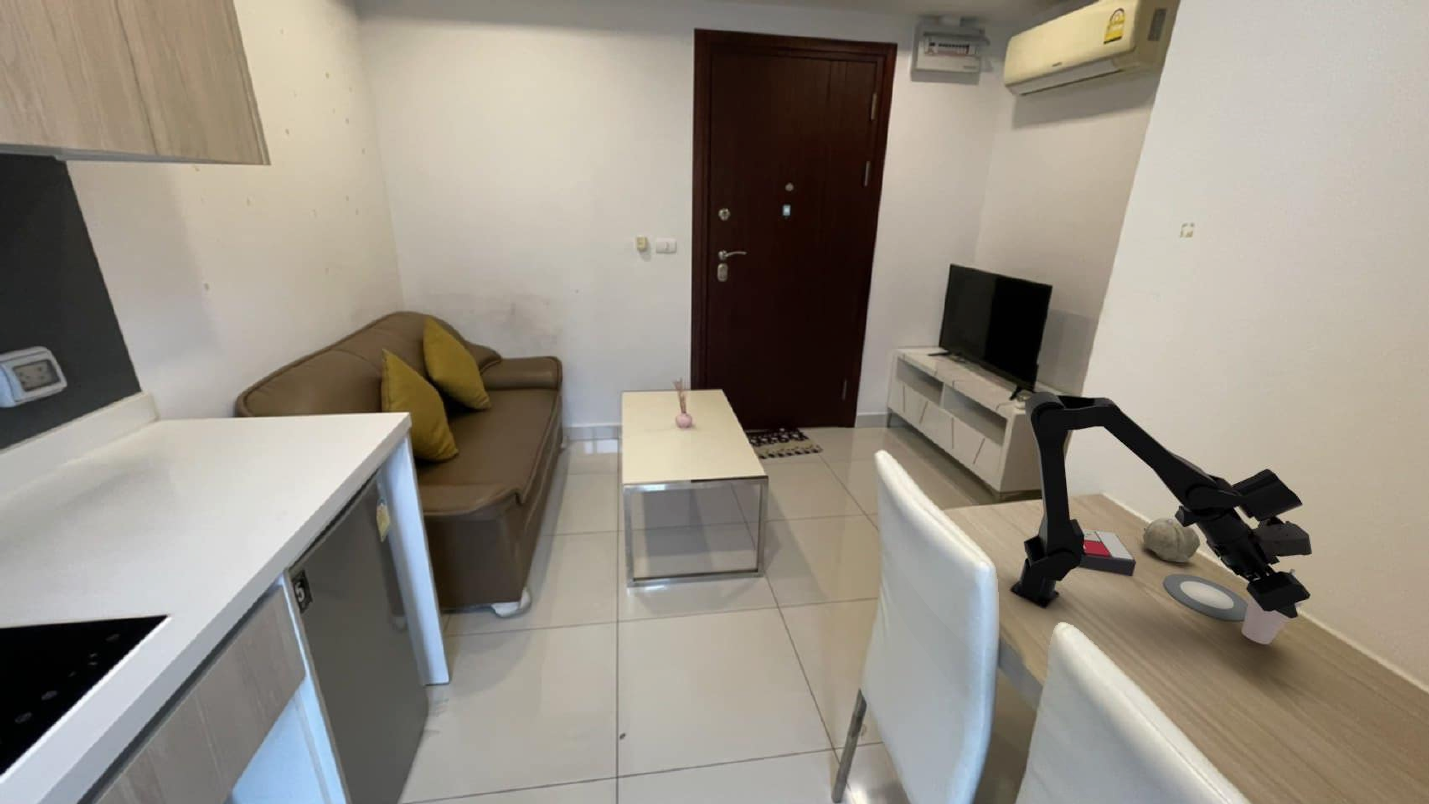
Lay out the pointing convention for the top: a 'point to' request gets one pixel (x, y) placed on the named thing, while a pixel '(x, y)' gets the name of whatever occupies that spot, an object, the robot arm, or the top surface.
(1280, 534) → the robot arm
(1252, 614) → the smoothie
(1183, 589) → the coaster
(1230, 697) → the top surface
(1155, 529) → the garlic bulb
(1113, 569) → the calculator
